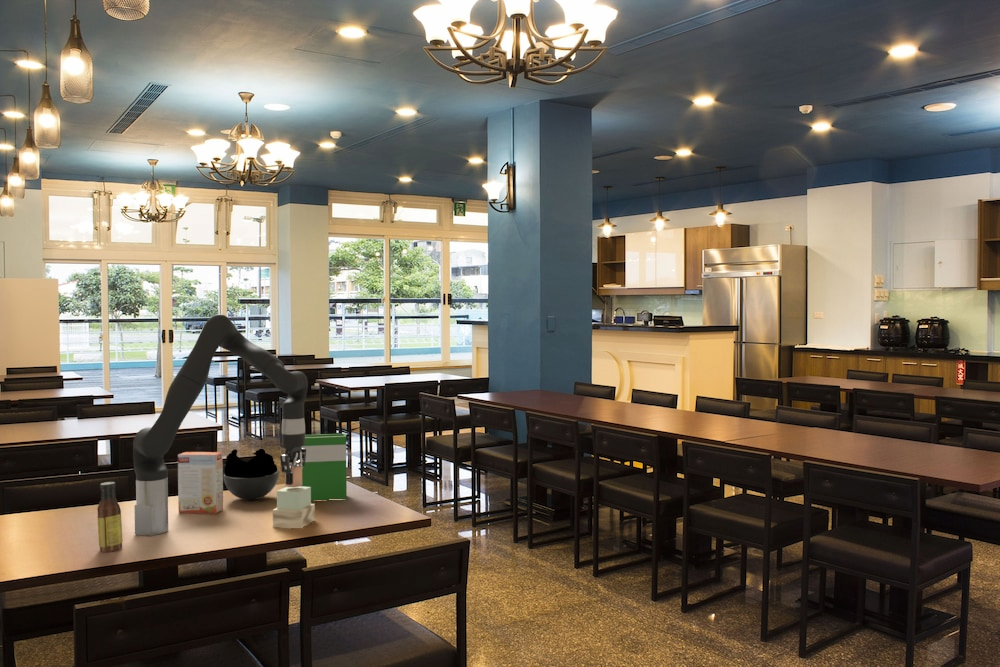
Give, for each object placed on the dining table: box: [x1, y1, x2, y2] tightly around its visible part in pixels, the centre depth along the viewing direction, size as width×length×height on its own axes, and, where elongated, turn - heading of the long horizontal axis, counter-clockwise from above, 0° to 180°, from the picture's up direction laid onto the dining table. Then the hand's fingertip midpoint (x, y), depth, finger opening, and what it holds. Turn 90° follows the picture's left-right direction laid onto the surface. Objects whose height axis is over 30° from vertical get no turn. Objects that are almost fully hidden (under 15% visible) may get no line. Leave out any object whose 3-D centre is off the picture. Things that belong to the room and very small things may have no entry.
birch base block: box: [272, 503, 316, 529], centre depth 253 cm, size 10×10×6 cm
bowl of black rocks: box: [223, 448, 280, 501], centre depth 287 cm, size 20×20×19 cm
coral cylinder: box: [284, 466, 302, 487], centre depth 252 cm, size 6×6×6 cm
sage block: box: [276, 486, 312, 511], centre depth 252 cm, size 8×8×6 cm
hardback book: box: [301, 433, 348, 501], centre depth 287 cm, size 18×7×24 cm, turn 103°
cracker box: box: [177, 451, 224, 514], centre depth 269 cm, size 14×6×21 cm, turn 84°
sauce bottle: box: [96, 481, 123, 553], centre depth 225 cm, size 6×6×20 cm
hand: (293, 482), depth 252 cm, fingers closed on coral cylinder, 5 cm apart
